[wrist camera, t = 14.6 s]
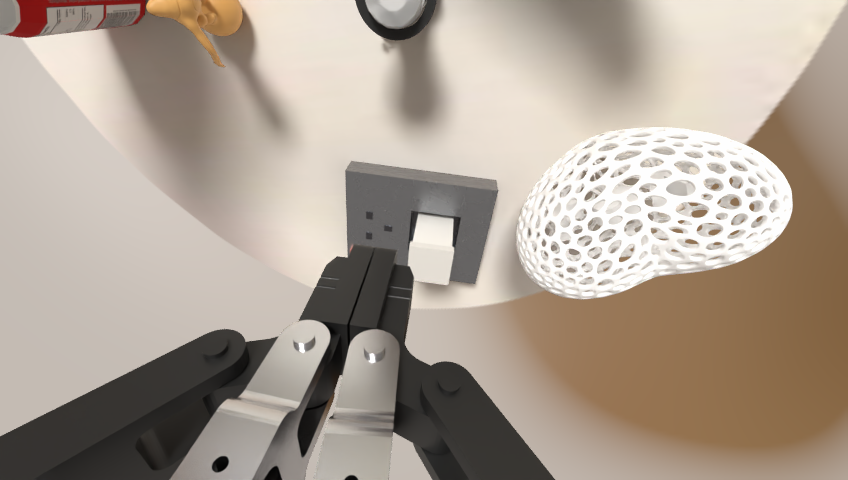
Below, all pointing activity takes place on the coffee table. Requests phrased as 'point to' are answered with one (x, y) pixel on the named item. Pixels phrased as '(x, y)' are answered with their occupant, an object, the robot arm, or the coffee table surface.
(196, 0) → the figurine
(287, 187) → the coffee table surface
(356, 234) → the socket plate
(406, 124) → the coffee table surface
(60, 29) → the soda can
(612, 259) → the decorative heart
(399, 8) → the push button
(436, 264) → the plug
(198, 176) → the coffee table surface
